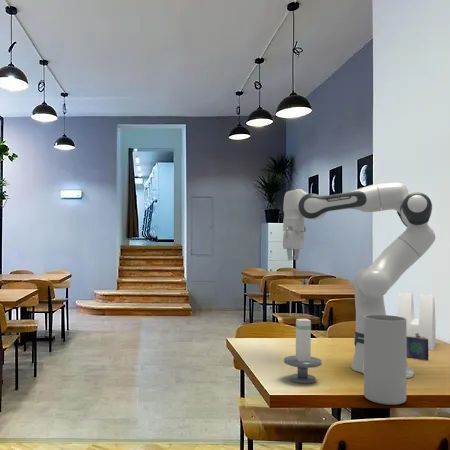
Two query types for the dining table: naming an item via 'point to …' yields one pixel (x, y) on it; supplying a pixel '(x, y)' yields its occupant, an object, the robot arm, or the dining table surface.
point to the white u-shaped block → (426, 317)
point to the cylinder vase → (385, 359)
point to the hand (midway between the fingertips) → (293, 259)
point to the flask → (417, 347)
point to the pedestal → (302, 369)
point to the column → (303, 339)
